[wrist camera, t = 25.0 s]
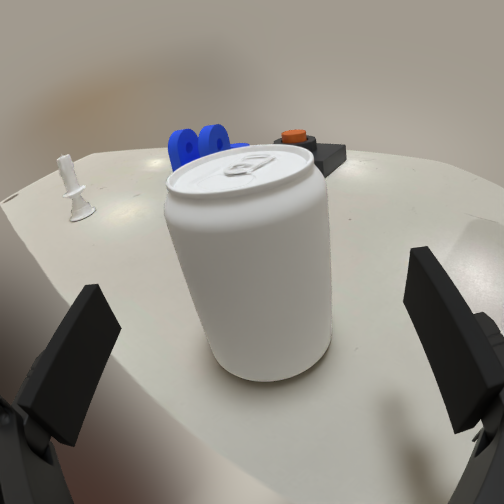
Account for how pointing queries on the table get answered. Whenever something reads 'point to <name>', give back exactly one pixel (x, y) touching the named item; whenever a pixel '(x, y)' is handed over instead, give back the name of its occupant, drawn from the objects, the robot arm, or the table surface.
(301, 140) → the switch
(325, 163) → the push button base
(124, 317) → the table surface
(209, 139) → the bracket
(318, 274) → the beverage can
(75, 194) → the candle
